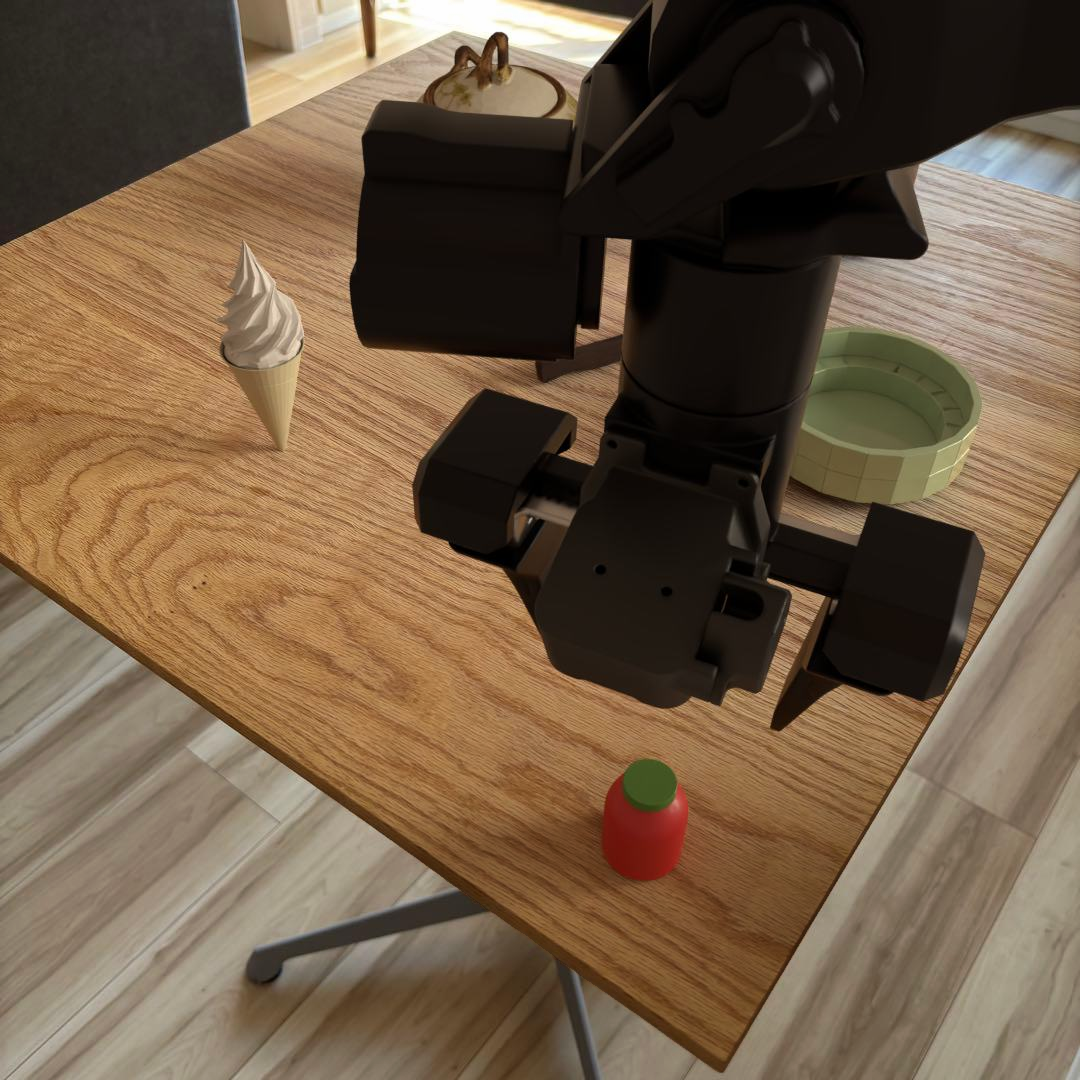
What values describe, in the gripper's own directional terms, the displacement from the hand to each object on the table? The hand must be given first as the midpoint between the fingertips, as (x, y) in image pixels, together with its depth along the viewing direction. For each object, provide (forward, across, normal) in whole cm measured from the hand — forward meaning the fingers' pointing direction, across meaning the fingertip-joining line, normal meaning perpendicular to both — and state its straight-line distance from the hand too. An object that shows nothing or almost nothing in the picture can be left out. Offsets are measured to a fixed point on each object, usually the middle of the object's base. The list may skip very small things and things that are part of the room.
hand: (664, 681), depth 45 cm
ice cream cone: (+13, -31, +17) cm, 38 cm away
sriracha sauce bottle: (+12, 0, 0) cm, 12 cm away
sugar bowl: (+13, -31, +50) cm, 60 cm away
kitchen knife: (+12, -13, +37) cm, 42 cm away
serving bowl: (+12, +3, +34) cm, 36 cm away
